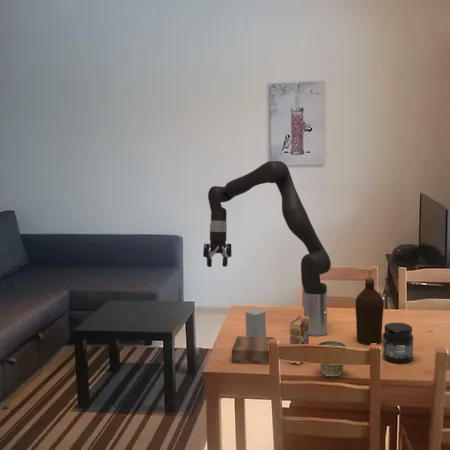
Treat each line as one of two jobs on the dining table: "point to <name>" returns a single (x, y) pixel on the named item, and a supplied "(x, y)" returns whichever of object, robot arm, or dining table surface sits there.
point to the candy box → (299, 331)
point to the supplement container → (398, 342)
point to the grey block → (255, 323)
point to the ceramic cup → (327, 368)
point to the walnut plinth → (251, 350)
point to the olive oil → (369, 314)
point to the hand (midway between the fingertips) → (217, 266)
